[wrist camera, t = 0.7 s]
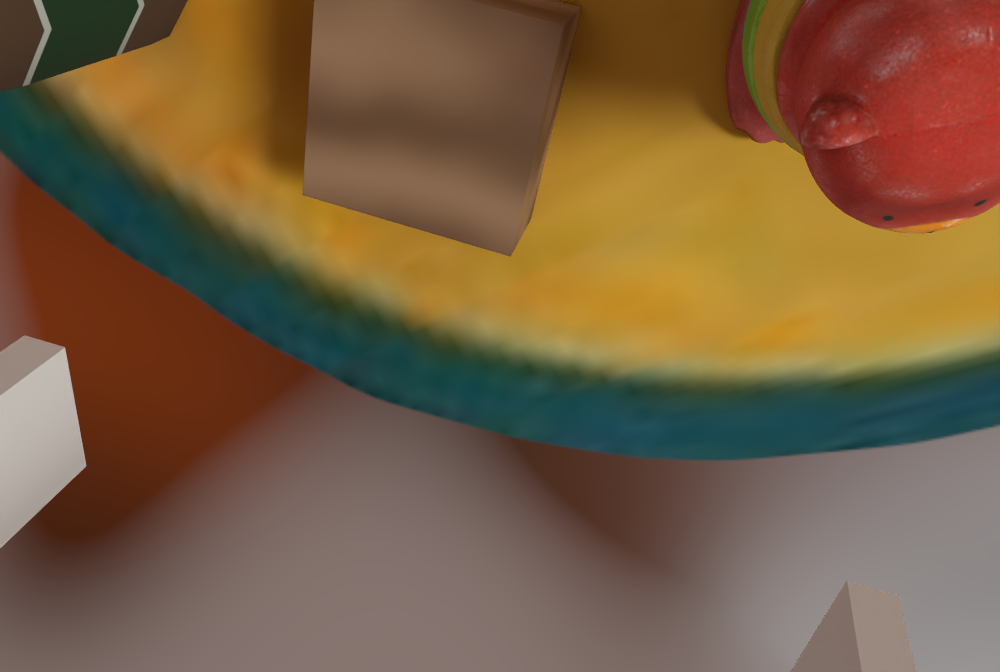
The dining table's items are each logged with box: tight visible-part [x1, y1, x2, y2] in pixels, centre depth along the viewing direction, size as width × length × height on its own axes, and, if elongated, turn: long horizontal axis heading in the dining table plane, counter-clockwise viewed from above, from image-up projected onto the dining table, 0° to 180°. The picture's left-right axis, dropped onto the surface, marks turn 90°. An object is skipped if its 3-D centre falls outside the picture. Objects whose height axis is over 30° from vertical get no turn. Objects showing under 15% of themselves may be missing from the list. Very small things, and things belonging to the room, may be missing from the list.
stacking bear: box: [726, 0, 1000, 233], centre depth 27 cm, size 11×10×18 cm
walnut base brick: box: [303, 0, 582, 256], centre depth 38 cm, size 11×11×5 cm
